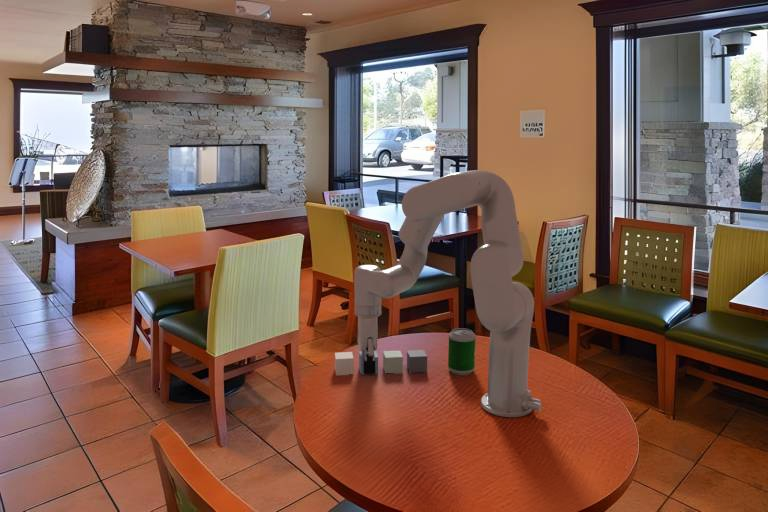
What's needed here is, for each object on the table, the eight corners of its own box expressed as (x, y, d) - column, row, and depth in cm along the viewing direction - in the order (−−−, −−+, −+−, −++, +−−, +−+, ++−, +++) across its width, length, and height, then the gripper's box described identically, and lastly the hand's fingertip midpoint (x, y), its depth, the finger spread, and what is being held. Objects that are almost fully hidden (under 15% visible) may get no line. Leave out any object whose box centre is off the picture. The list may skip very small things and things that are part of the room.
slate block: (376, 366, 166) (376, 350, 165) (378, 373, 161) (378, 357, 160) (359, 367, 165) (359, 351, 164) (360, 374, 160) (360, 358, 159)
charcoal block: (423, 365, 167) (423, 349, 166) (427, 372, 162) (427, 356, 161) (406, 366, 166) (407, 350, 165) (409, 373, 161) (409, 357, 160)
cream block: (352, 367, 165) (352, 351, 164) (353, 374, 160) (353, 358, 159) (335, 368, 165) (334, 352, 164) (336, 375, 160) (335, 359, 159)
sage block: (400, 366, 166) (400, 350, 165) (402, 373, 161) (402, 356, 160) (383, 367, 166) (383, 351, 165) (385, 374, 161) (385, 357, 160)
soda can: (473, 377, 158) (475, 336, 156) (446, 375, 160) (447, 335, 157) (474, 367, 165) (476, 328, 163) (449, 365, 167) (450, 326, 164)
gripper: (352, 301, 167) (353, 359, 171) (357, 318, 151) (357, 382, 154) (377, 300, 168) (378, 357, 172) (385, 317, 151) (385, 381, 155)
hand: (368, 368), depth 163 cm, fingers closed on slate block, 4 cm apart
